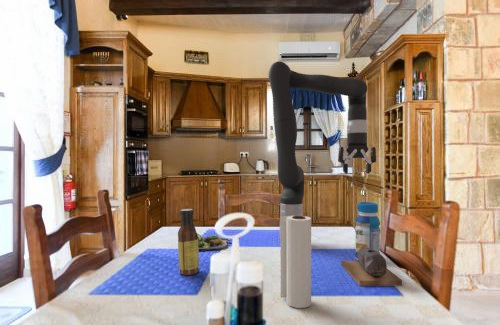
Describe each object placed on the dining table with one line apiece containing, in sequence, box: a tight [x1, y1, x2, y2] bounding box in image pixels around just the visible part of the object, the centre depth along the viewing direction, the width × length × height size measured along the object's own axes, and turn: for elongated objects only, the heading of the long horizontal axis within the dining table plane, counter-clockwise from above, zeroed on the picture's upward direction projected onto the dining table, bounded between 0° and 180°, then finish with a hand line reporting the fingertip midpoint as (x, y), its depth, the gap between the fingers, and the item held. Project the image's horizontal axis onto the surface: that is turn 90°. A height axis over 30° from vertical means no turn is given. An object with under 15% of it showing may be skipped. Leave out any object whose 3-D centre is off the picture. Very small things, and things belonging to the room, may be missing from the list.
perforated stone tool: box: [357, 247, 388, 276], centre depth 95 cm, size 15×5×7 cm, turn 0°
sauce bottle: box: [177, 208, 200, 276], centre depth 98 cm, size 6×6×20 cm
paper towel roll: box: [280, 215, 312, 309], centre depth 78 cm, size 7×6×21 cm
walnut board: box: [340, 260, 403, 287], centre depth 96 cm, size 12×17×2 cm
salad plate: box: [197, 233, 232, 252], centre depth 130 cm, size 19×18×5 cm
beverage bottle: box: [354, 201, 381, 261], centre depth 110 cm, size 8×8×20 cm
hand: (356, 173), depth 123 cm, fingers open, 8 cm apart
